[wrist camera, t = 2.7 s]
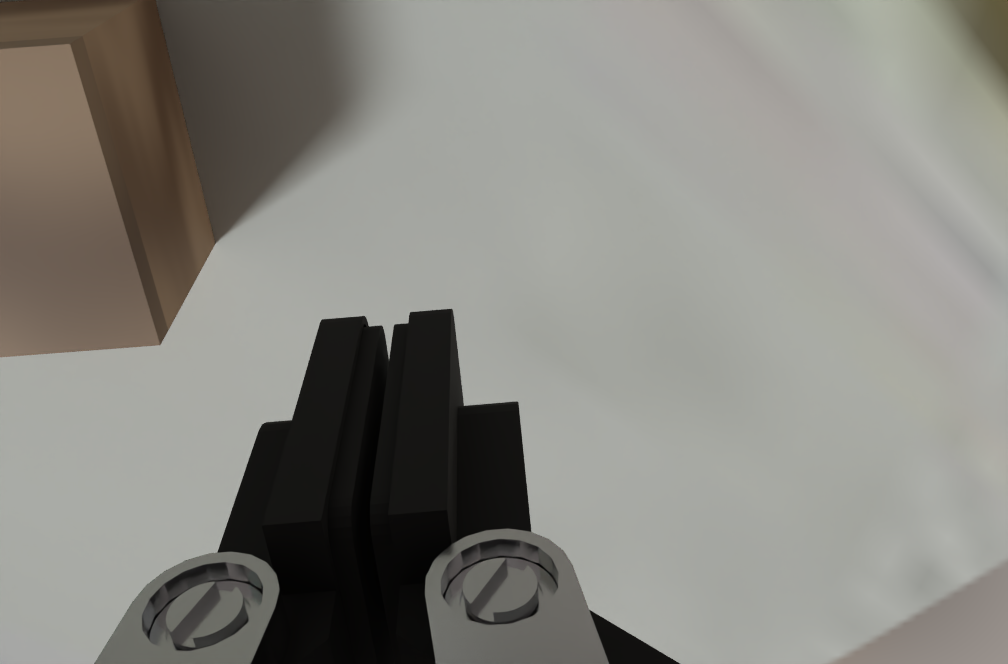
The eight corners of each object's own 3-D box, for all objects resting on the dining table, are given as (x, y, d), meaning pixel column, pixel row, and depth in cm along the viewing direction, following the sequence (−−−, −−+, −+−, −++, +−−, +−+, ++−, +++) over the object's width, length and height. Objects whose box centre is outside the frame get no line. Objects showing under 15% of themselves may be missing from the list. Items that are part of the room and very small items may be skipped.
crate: (-123, 10, 20) (-285, 70, 15) (154, -11, 20) (70, 44, 15) (-24, 259, 23) (-136, 367, 18) (216, 241, 23) (160, 345, 18)
